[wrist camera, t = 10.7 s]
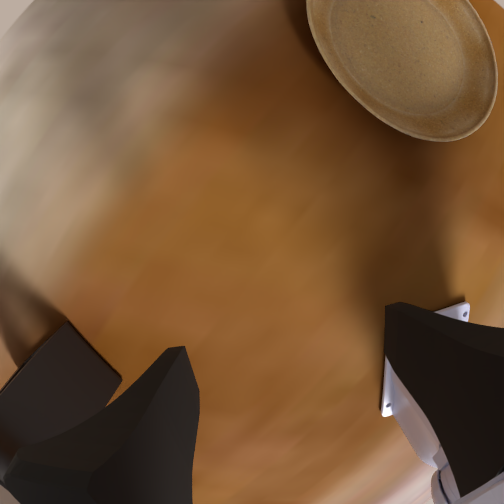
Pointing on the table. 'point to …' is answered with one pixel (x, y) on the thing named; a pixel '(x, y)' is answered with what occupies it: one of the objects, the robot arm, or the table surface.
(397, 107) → the plant saucer
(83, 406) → the phone stand
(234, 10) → the table surface
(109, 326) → the table surface
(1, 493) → the cylinder vase
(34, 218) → the table surface
